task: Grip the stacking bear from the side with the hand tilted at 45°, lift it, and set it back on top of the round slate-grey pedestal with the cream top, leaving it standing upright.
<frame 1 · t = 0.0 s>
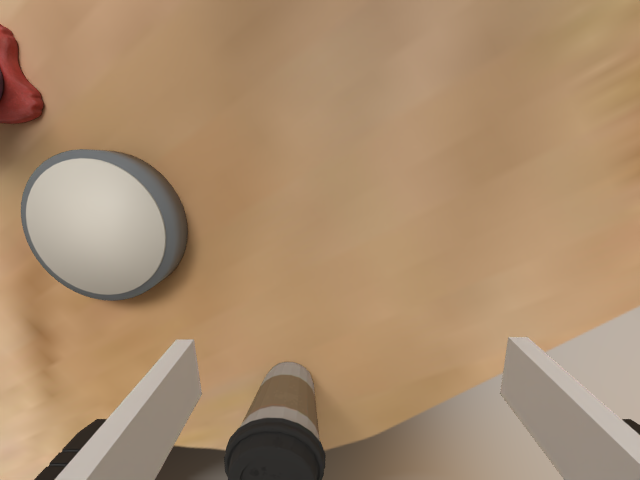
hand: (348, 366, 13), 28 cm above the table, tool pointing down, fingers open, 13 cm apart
coffee cup: (289, 380, 46), on the table
pedestal: (117, 224, 41), on the table
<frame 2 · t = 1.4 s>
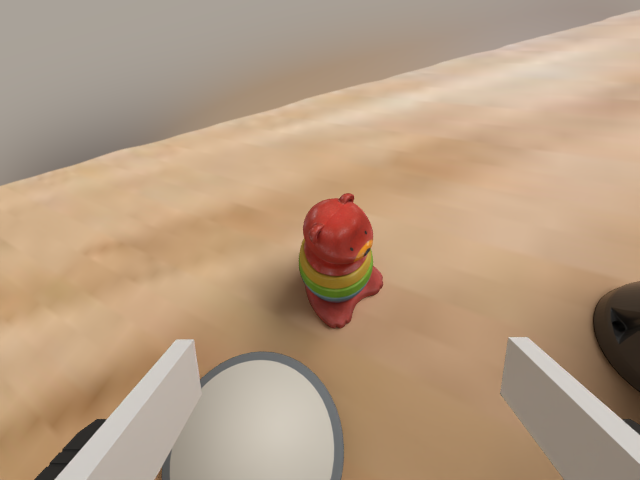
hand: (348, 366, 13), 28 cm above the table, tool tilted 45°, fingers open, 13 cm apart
stacking bear: (337, 284, 44), on the table
pedestal: (260, 443, 35), on the table
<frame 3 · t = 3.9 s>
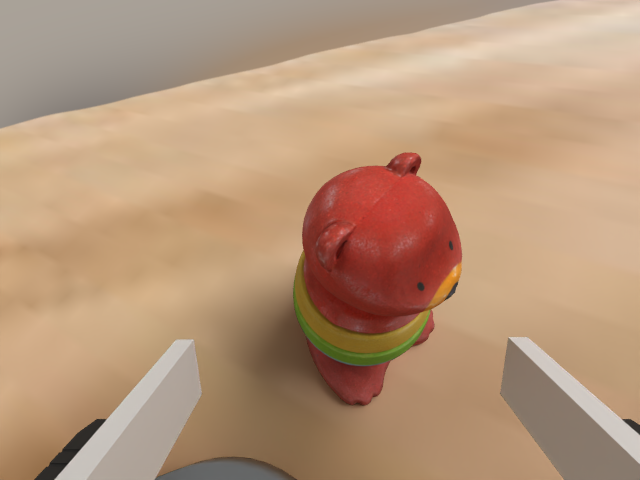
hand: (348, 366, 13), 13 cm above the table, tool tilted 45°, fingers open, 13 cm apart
stacking bear: (357, 322, 27), on the table
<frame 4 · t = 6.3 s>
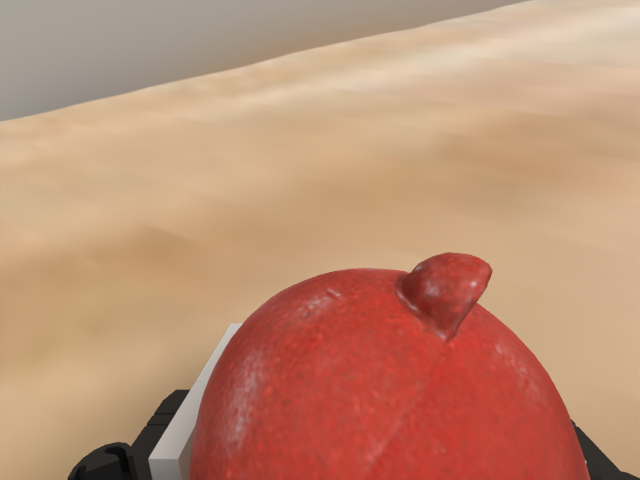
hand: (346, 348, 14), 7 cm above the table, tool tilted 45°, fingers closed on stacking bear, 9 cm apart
stacking bear: (348, 426, 19), on the table, touching gripper
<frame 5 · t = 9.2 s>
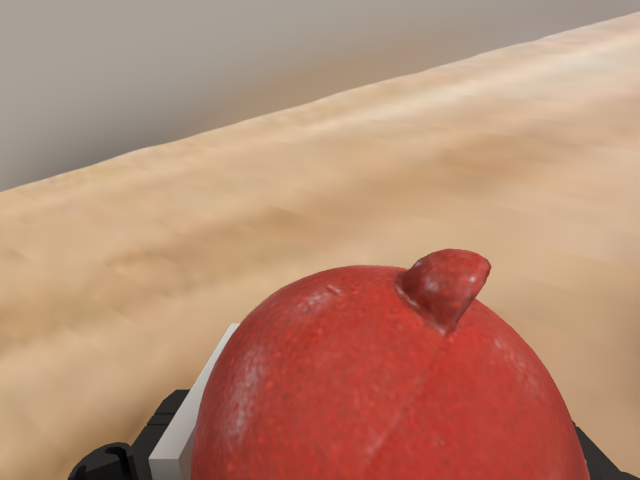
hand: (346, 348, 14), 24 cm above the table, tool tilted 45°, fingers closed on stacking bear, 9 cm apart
stacking bear: (349, 424, 19), point 16 cm above the table, touching gripper
when the fingers open (12 cm above the table, at t = 12.6 s): stacking bear stays where it is, resting on pedestal.
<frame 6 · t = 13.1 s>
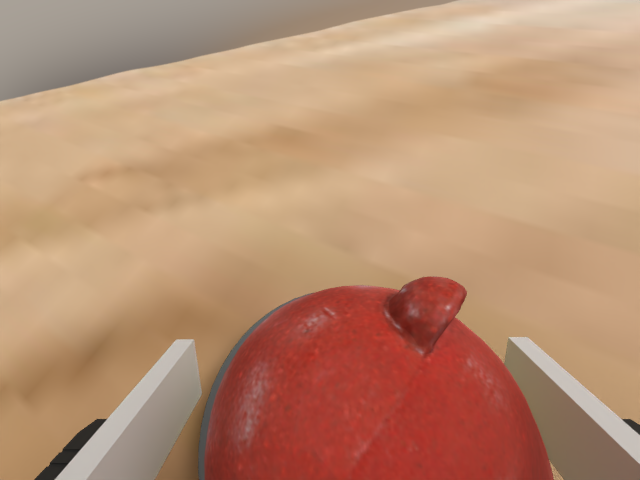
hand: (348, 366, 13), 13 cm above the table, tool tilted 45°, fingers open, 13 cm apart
stacking bear: (347, 425, 20), point 4 cm above the table, touching pedestal
pedestal: (342, 425, 23), on the table
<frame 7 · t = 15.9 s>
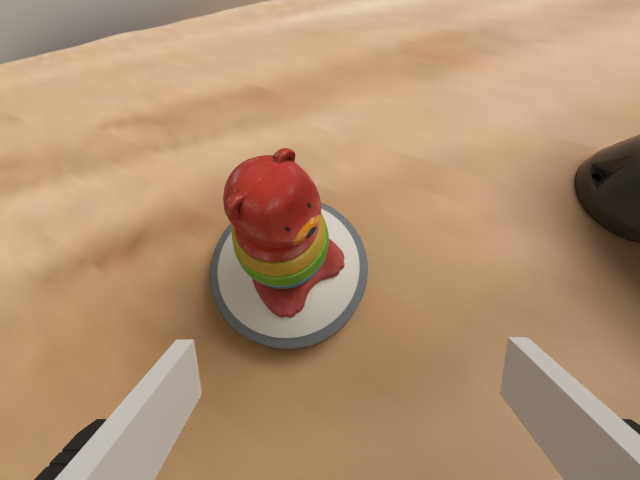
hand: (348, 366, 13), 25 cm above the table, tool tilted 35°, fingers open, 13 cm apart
stacking bear: (290, 263, 36), point 4 cm above the table, touching pedestal
pedestal: (291, 273, 40), on the table
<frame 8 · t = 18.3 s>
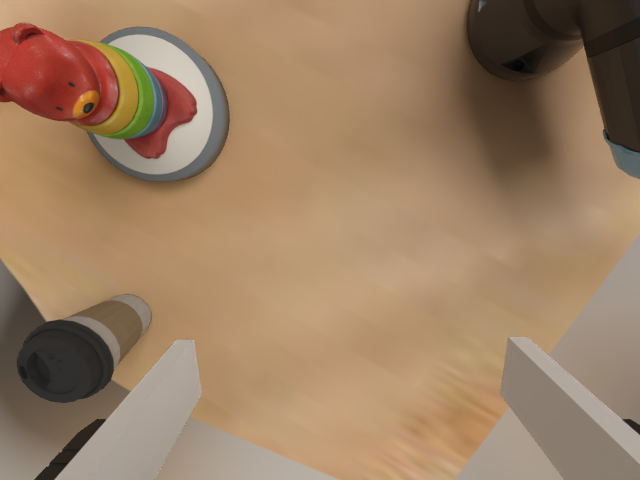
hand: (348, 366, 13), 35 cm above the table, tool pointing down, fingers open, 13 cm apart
stacking bear: (150, 108, 40), point 4 cm above the table, touching pedestal
coffee cup: (132, 312, 52), on the table
pedestal: (164, 113, 43), on the table
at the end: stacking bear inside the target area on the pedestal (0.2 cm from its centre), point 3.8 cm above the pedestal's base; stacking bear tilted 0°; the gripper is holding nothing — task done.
